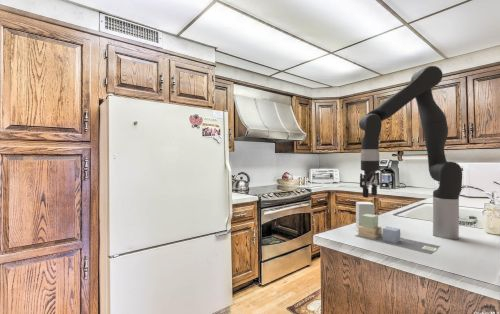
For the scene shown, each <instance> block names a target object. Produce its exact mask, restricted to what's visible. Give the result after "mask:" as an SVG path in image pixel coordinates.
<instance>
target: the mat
mask: <svg viewBox="0 0 500 314" xmlns="http://www.w3.org/2000/svg"><path fill="white" fill-rule="evenodd" d="M354 237H356V238H362V239H365V240H369V241H374V242H378V243H382V244H386V245H391V246H393V247H398V248H404V249H408V250H412V251H415V252H419V253H424V254H428V255H432V254H433V253H434V252H437V250H438V249H439V248H440V247H441V245H436V244H432V243H427V242H423V241H417V240H414V239H413V240H412V239H408V238H404V237H400V241H399V242H397V243H392V242H387V241H383V233H381V236H380V237H378V238H376V239H371V238H367V237H363V236H359V233H358V234H356V235H354ZM424 246H428V247H433V248H437V250H435V251H434V252H433V251H428V250H424V249H422V247H424Z"/></svg>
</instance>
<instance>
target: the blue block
mask: <svg viewBox="0 0 500 314" xmlns="http://www.w3.org/2000/svg"><path fill="white" fill-rule="evenodd" d="M382 234H383V241H387V242H392V243H397V242H399V241H400V238H401V228H399V227H393V226H389V225H388V226H385V227H384V228H382Z"/></svg>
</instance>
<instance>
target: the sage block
mask: <svg viewBox="0 0 500 314" xmlns="http://www.w3.org/2000/svg"><path fill="white" fill-rule="evenodd" d="M378 226H379V215H377V214H375V215H372V214H365V215H362V227H366V228H371V229H374V228H377V227H378Z"/></svg>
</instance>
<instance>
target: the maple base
mask: <svg viewBox="0 0 500 314" xmlns="http://www.w3.org/2000/svg"><path fill="white" fill-rule="evenodd" d="M358 234H359V236H363V237H367V238H371V239H376V238H378V237H380V236H381V234H382V226H379V225H378V227H377V228H374V229H371V228H366V227H362V225H361V226H359V229H358Z"/></svg>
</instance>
